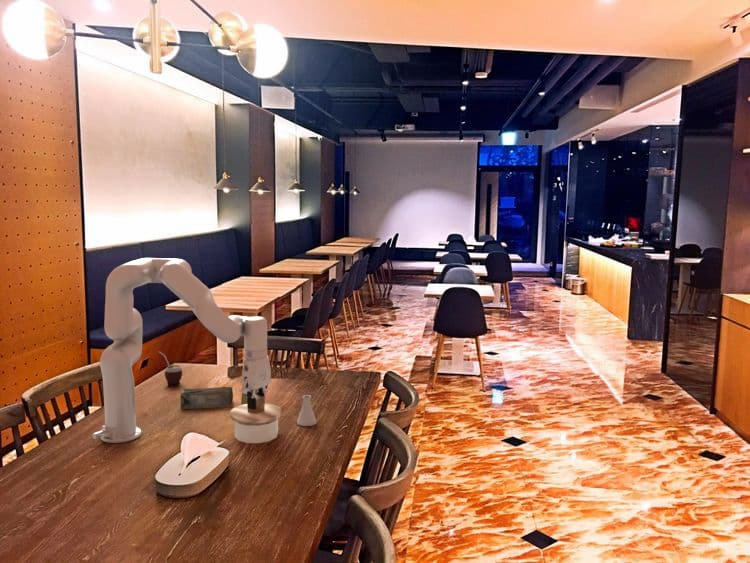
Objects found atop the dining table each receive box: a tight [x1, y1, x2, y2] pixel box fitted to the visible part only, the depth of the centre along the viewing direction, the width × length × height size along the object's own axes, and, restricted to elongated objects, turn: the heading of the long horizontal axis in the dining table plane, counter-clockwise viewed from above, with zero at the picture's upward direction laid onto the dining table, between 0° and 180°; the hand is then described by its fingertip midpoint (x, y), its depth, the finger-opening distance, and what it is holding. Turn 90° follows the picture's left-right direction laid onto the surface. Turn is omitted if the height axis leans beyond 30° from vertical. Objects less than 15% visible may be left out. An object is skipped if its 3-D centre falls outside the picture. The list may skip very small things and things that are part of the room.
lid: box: [229, 394, 282, 424], centre depth 209 cm, size 17×17×6 cm
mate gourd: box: [158, 351, 183, 388], centre depth 262 cm, size 8×8×15 cm
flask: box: [296, 394, 317, 427], centre depth 221 cm, size 7×7×10 cm
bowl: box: [234, 418, 279, 444], centre depth 210 cm, size 14×14×6 cm
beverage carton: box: [180, 386, 234, 410], centre depth 239 cm, size 8×19×7 cm, turn 99°
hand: (256, 406), depth 209 cm, fingers closed on lid, 3 cm apart
